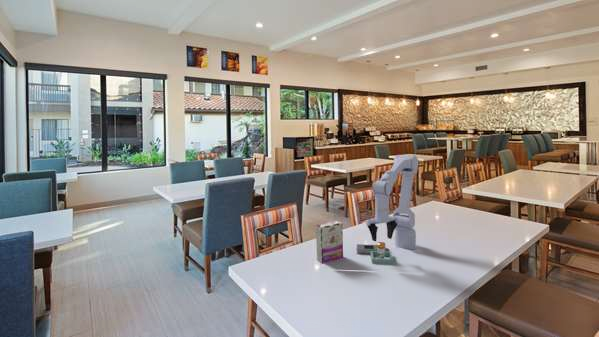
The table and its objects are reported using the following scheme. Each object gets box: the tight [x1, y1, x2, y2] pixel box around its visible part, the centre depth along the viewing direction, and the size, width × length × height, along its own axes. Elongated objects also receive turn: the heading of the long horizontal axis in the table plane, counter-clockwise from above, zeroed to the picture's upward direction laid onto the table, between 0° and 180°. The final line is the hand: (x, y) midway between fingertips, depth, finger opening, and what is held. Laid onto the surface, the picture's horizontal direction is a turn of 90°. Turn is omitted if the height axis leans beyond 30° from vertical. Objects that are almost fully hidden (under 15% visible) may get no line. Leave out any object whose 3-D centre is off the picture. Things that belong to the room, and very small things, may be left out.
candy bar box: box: [315, 220, 344, 264], centre depth 142 cm, size 11×5×16 cm, turn 117°
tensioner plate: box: [356, 243, 391, 255], centre depth 149 cm, size 15×7×3 cm, turn 81°
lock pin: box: [376, 241, 386, 259], centre depth 140 cm, size 4×4×7 cm
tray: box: [370, 251, 395, 265], centre depth 140 cm, size 9×9×2 cm
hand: (381, 239), depth 139 cm, fingers open, 7 cm apart
